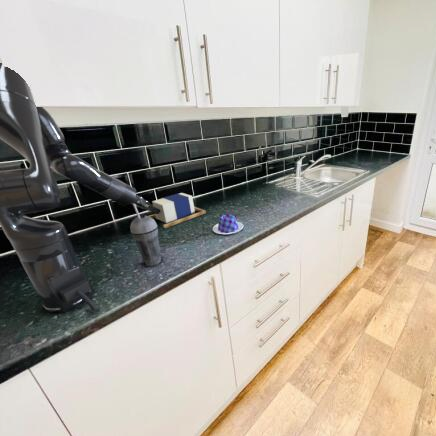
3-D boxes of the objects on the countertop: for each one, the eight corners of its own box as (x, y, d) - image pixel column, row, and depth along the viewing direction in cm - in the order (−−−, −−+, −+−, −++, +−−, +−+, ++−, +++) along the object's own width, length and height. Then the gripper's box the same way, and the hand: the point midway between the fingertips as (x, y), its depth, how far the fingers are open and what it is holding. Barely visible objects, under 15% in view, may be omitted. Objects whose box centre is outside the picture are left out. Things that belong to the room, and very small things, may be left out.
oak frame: (164, 228, 102) (164, 225, 102) (146, 219, 111) (146, 216, 110) (206, 213, 116) (205, 210, 116) (187, 206, 125) (187, 203, 124)
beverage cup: (170, 257, 83) (157, 199, 75) (155, 269, 77) (138, 208, 68) (151, 254, 85) (136, 197, 76) (134, 266, 78) (115, 206, 70)
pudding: (249, 230, 101) (248, 217, 98) (220, 239, 94) (218, 226, 92) (235, 220, 109) (234, 208, 107) (208, 227, 103) (206, 215, 101)
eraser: (166, 223, 107) (162, 205, 104) (156, 218, 111) (151, 201, 108) (195, 212, 117) (192, 195, 114) (184, 208, 122) (181, 192, 118)
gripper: (131, 185, 90) (171, 207, 104) (116, 179, 97) (155, 201, 111) (119, 204, 88) (161, 224, 102) (104, 196, 95) (145, 216, 109)
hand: (158, 212), depth 107 cm, fingers closed
